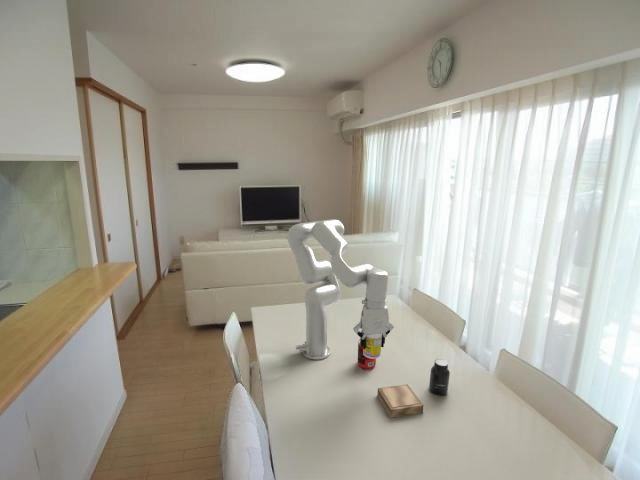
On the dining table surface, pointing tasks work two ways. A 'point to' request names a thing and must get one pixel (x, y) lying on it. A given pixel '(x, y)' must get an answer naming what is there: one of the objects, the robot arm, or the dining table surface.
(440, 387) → the supplement bottle
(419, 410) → the bronze plinth
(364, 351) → the supplement bottle
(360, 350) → the canned food
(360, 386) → the dining table surface
